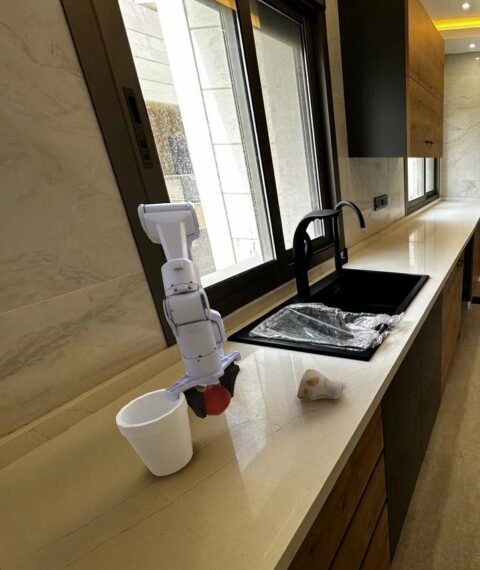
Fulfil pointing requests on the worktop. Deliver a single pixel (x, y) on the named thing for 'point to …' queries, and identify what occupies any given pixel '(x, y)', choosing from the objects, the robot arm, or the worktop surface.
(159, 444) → the foam cup
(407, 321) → the worktop surface
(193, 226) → the robot arm
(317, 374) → the white spotted tapered part
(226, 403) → the red round piece
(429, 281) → the worktop surface
